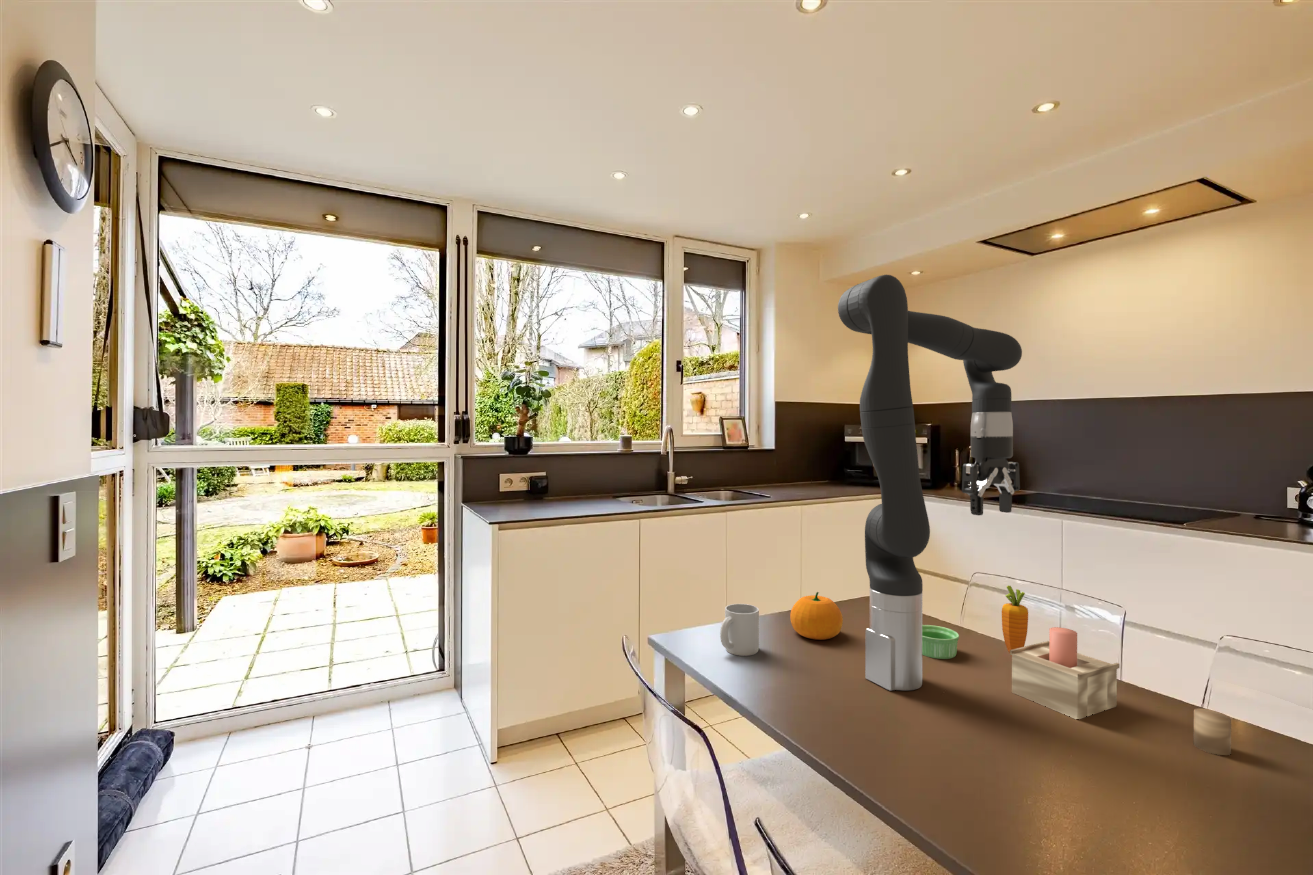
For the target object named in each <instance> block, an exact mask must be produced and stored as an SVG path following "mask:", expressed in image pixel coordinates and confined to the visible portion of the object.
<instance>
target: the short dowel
mask: <svg viewBox="0 0 1313 875" xmlns="http://www.w3.org/2000/svg"><path fill="white" fill-rule="evenodd" d="M1193 745H1194V746H1195V747H1196V748H1197V749H1198V750H1200V749H1201V751H1202V750H1203V752H1205V751H1206V752H1205V753H1208V752H1209V753H1208V754H1211V753H1212V754H1211V755H1214V754H1217V755H1216V756H1220V755H1229V756H1231V755H1230V754H1232V718H1231V717H1230V716H1228V715H1227V714H1224V713H1223V712H1219V711H1218V710H1217V711H1216V710H1213V709H1207V708H1194V710H1193Z"/></svg>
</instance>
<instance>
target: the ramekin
mask: <svg viewBox="0 0 1313 875" xmlns="http://www.w3.org/2000/svg"><path fill="white" fill-rule="evenodd" d="M959 639H960V635H959V633H958V632H957V631H955V630H954V629H951V628H948V627H944V626H938V625H930V624H922V656H925V657H927V658H931V659H938V660H939V659H941V660H949V659H953V658H955V657H956V655H957V652H958V641H959Z"/></svg>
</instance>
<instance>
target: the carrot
mask: <svg viewBox="0 0 1313 875" xmlns="http://www.w3.org/2000/svg"><path fill="white" fill-rule="evenodd" d="M1006 589H1007V591H1008V593H1007V594H1005V597H1006V599H1007V600H1008V601H1009V603H1004V604H1003V605H1002V607H1001V627H1002V628H1001V629H1002V634H1003V639H1004V645H1005V647H1006V650H1007V651H1008V654H1009V656H1010V657H1011V658H1012V655H1010V650H1013V649H1017V648H1021V647H1025V645H1026V640H1027V637H1028V627H1029V626H1028V625H1029V609H1028V608H1027V607H1026V606H1025V605H1024V604H1023V605H1022V604H1020V603H1021V602H1022V600H1023V598H1024V597H1025V595H1026V593H1025V592H1024V591H1021V590H1020V589H1018V588H1016V589H1015V591H1014V589H1013V587H1012V585H1007V586H1006ZM1015 592H1016V593H1015Z"/></svg>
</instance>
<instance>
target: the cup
mask: <svg viewBox="0 0 1313 875" xmlns="http://www.w3.org/2000/svg"><path fill="white" fill-rule="evenodd" d="M719 635H720V636H719V637H720V643H721V645H722V646H723V647H724V648H725V650H726V652H727V653H729V654H731V655H733V656H734V655H735V656H740V657H741V656H742V657H745V656H747V657H748V656H753V655H754V656H755V655H756V654H757V653H758V652H759V649H760V648H759V647H760V609H759V607H757V606H755V605H753V604H747V603H732V604H728V605H726V606H725V607H724V619H723V621H722V623H721V626H720V632H719Z"/></svg>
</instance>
